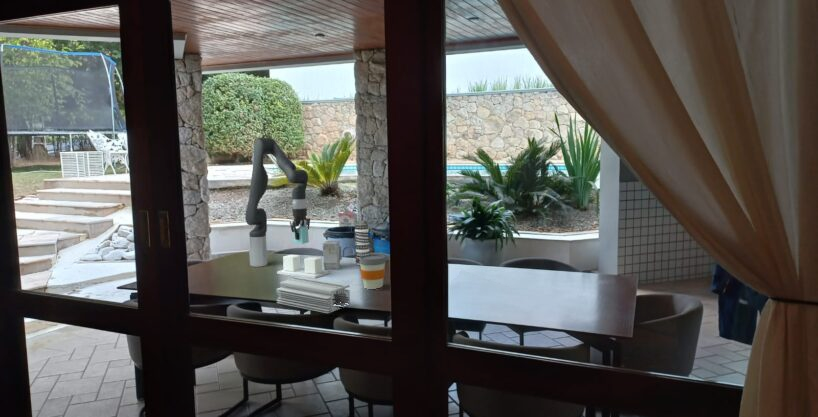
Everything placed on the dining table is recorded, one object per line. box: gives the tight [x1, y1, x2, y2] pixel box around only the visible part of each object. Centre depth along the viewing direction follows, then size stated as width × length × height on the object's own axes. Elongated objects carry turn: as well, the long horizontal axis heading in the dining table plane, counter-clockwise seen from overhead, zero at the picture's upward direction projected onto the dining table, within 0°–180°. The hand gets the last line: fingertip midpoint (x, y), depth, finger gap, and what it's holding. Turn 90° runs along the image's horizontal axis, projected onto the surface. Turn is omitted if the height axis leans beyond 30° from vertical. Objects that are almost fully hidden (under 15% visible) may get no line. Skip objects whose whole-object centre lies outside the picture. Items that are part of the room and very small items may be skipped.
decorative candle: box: [353, 219, 371, 266], centre depth 324 cm, size 9×9×25 cm
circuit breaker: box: [322, 240, 343, 271], centre depth 317 cm, size 8×14×15 cm, turn 174°
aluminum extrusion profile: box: [275, 276, 351, 314], centre depth 246 cm, size 14×31×10 cm, turn 55°
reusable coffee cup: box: [359, 253, 387, 290], centre depth 271 cm, size 13×13×15 cm
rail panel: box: [276, 254, 330, 279], centre depth 304 cm, size 26×12×9 cm, turn 60°
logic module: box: [292, 226, 310, 245], centre depth 302 cm, size 6×5×8 cm
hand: (301, 238), depth 302 cm, fingers closed on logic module, 5 cm apart
